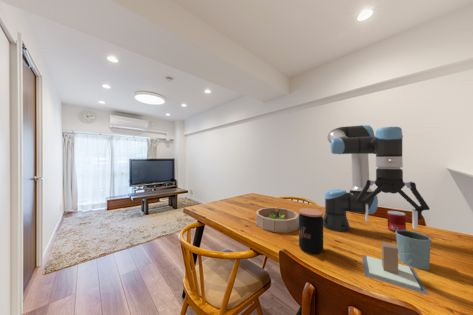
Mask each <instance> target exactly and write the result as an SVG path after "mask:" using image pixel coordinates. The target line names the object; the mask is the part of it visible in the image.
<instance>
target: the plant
mask: <svg viewBox="0 0 473 315" xmlns="http://www.w3.org/2000/svg"><path fill="white" fill-rule="evenodd" d="M279 211H280V212H281V210H280V209H279V210H278V209H276V212H277V213H275V212H274V211H269V212H270V213H271V212H274V213H275V215H274V214H273V216H272V215H270V216H269V217H266V218H271V219H281V220H286V219H289V218H284V216H285V215H282V216H281V217H280V214H279Z"/></svg>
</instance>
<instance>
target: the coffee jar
mask: <svg viewBox="0 0 473 315" xmlns="http://www.w3.org/2000/svg"><path fill="white" fill-rule="evenodd" d="M298 215H299V227H298V247H299V248H300V250H301V251H302V252H304V253H306V254H308V255H315V256H316V255H320V254H322V253H323V252H324V226H323V218H324V216H323V215H324V212H323V211H322V210H320V209H315V208H309V207H308V208H307V207H305V208H300V209H299V210H298Z"/></svg>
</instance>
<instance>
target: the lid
mask: <svg viewBox="0 0 473 315" xmlns="http://www.w3.org/2000/svg"><path fill="white" fill-rule="evenodd" d="M366 256H367V263H368V269H369V274H370V275H372V276H375V277H378V278H382V279H385V280H388V281H392V282H395V283H398V284H402V285H405V286H409V287H412V288H415V289H419V290H421V288H420V286H419V284H418V282H417V280H416V279H415V277H414V275H413V273H412V271H411V270H410V268H409V267H410V266H409V265H406V264H405V265H404V264H400V263H399V253H398V246H397V244H393V243H387V242H384V241H381V259H379V258H376V257H372V256H368V255H366Z"/></svg>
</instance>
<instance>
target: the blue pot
mask: <svg viewBox="0 0 473 315" xmlns="http://www.w3.org/2000/svg"><path fill="white" fill-rule="evenodd" d="M395 240H396V246H397V249H398V261H400V262H402V263H403V264H405V265H406V266H409V267H411V268H413V269H418V270H429V269H430V261H431V260H430V258H431V244H432V238H431V237H430V236H428V235H427V234H423V233H421V232H417V231H415V230H414V231H413V230H407V229H406V230H396V232H395Z"/></svg>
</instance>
